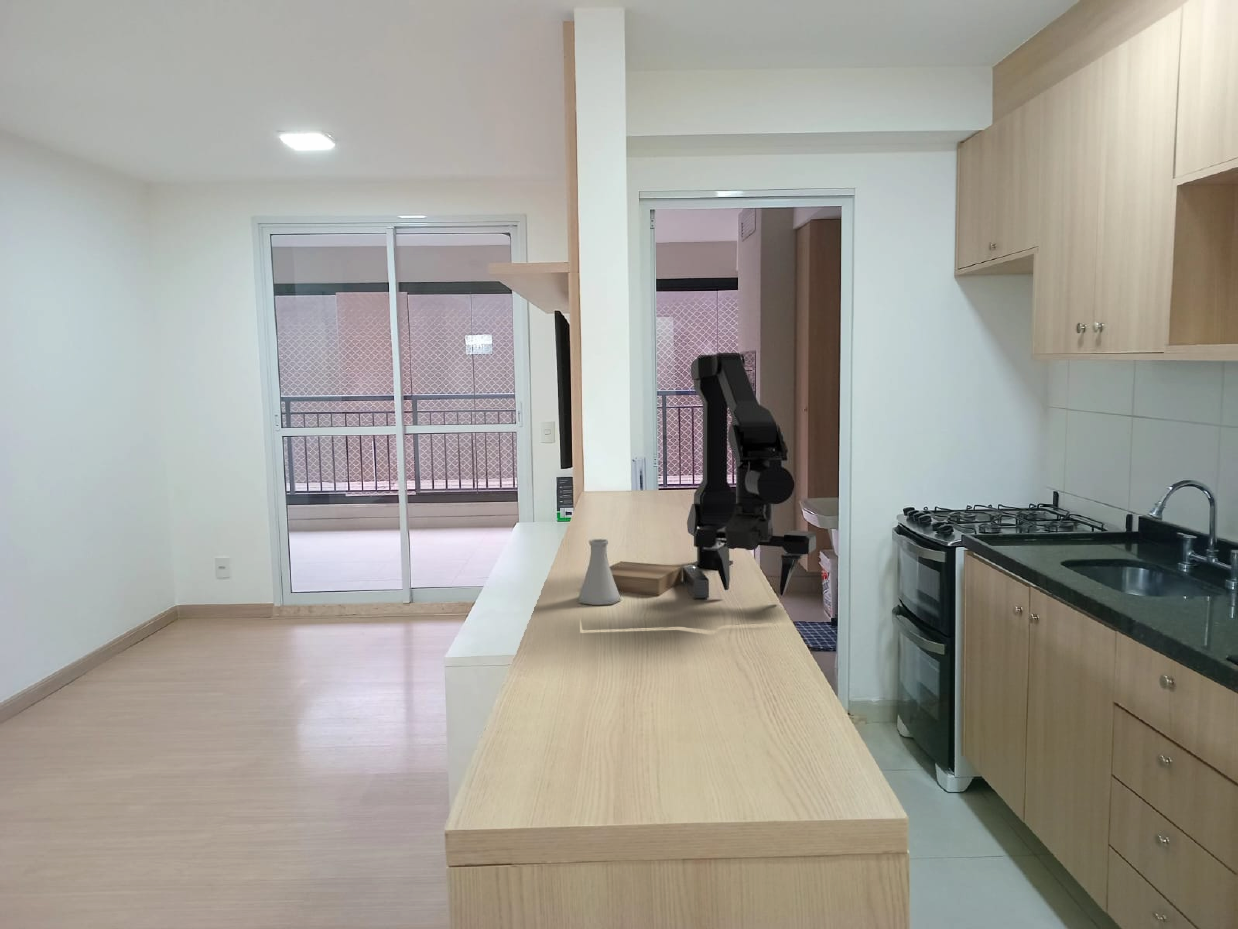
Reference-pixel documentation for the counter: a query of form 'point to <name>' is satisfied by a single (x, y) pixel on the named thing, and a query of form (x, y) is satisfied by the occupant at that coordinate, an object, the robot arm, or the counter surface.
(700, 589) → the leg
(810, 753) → the counter surface
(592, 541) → the flask
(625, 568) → the tan square panel
